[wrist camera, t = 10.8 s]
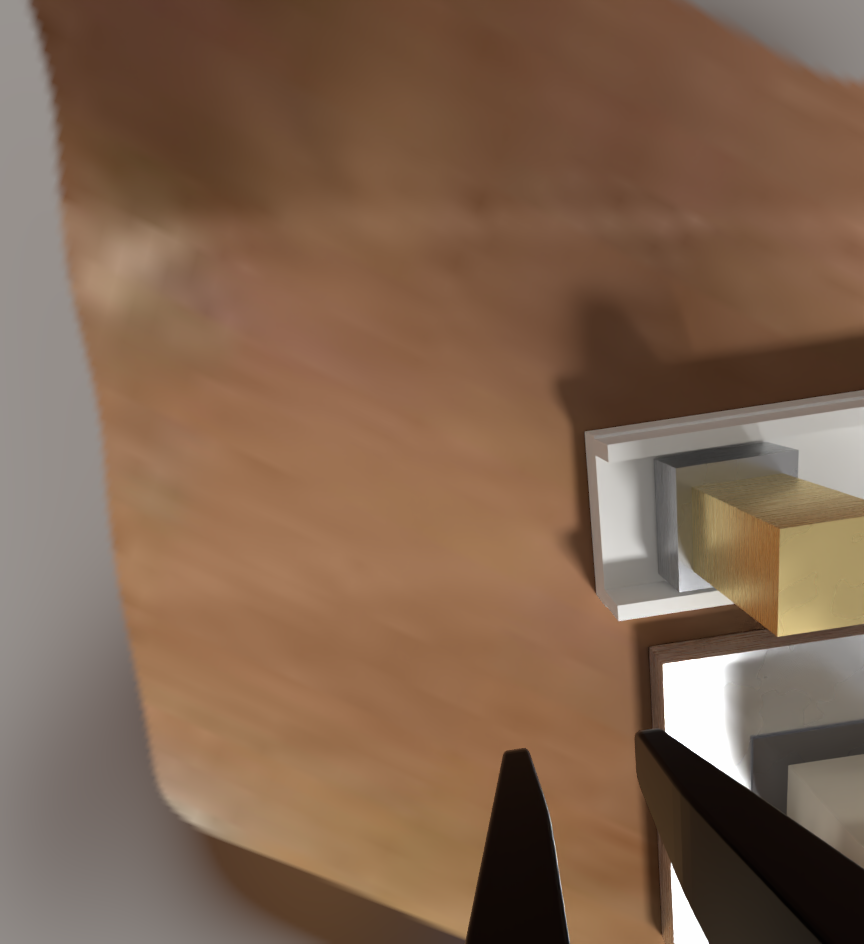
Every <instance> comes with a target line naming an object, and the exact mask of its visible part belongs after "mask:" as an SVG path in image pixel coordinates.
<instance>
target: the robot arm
mask: <svg viewBox="0 0 864 944" xmlns="http://www.w3.org/2000/svg"><path fill="white" fill-rule="evenodd" d="M635 756H636V772H637V778H638V781H639V785H640V788H641V790H642V793H643V795H644V798H645V800H646V803H647V805H648V807H649V810H650V812H651V815H652V817H653V820H654V822H655V825H656V827H657V830H658V832H659V835H660V837H661V840H662V842H663V844H664V847H665V849H666V852H667V854H668V857H669V859H670V862H671V864H672V867H673V869H674V872H675V874H676V876H677V879H678V881H679V884H680V886H681V888H682V891H683V893H684V895H685V897H686V899H687V901H688V903H689V905H690V907H691V909H692V911H693V913H694V915H695V917H696V919H697V921H698V923H699V925H700V927H701V929H702V931H703V933H704V935H705V937H706V939H707V941H708V943H709V944H864V868H862V867H861V866H860V865H858V864H857V863H855V862H854V861H852V860H851V859H849V858H848V857H846V856H845V855H844V854H842V853H841V852H839V851H838V850H836V849H835V848H833V847H832V846H831V845H829V844H828V843H826V842H825V841H823V840H822V839H820V838H819V837H818V836H816V835H815V834H813V833H812V832H810V831H809V830H807V829H806V828H804V827H803V826H802V825H800V824H799V823H797V822H796V821H794V820H793V819H791V818H790V817H789V816H787V815H786V814H784V813H783V812H781V811H780V810H778V809H777V808H775V807H774V806H773V805H771V804H770V803H768V802H767V801H765V800H764V799H762V798H761V797H760V796H758V795H757V794H755V793H754V792H752V791H751V790H749V789H748V788H747V787H745V786H744V785H742V784H741V783H739V782H738V781H736V780H735V779H733V778H732V777H731V776H729V775H728V774H726V773H725V772H723V771H722V770H720V769H719V768H718V767H716V766H715V765H713V764H712V763H710V762H709V761H707V760H706V759H704V758H703V757H702V756H700V755H699V754H697V753H696V752H694V751H693V750H691V749H690V748H689V747H687V746H686V745H684V744H683V743H681V742H680V741H678V740H677V739H676V738H674V737H673V736H671V735H670V734H668V733H667V732H665V731H664V730H662V729H659V728H654V729H647V730H641V731H638V732H637V733H636V734H635ZM465 944H570V941H569V935H568V928H567V921H566V915H565V908H564V902H563V895H562V889H561V882H560V875H559V869H558V862H557V856H556V849H555V843H554V836H553V829H552V823H551V818H550V813H549V810H548V806H547V803H546V800H545V797H544V794H543V791H542V788H541V785H540V782H539V779H538V776H537V773H536V770H535V767H534V764H533V761H532V758H531V755H530V753H529V751H528V750H527V749H526V748H521V749H514V750H508V751H505V752H504V754H503V758H502V763H501V768H500V773H499V778H498V783H497V788H496V793H495V798H494V803H493V808H492V813H491V818H490V822H489V827H488V832H487V837H486V842H485V847H484V852H483V857H482V862H481V867H480V872H479V877H478V882H477V887H476V892H475V897H474V902H473V907H472V912H471V917H470V922H469V927H468V932H467V937H466V942H465Z"/></svg>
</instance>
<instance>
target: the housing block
mask: <svg viewBox="0 0 864 944" xmlns="http://www.w3.org/2000/svg"><path fill="white" fill-rule="evenodd" d="M787 816H789V817H790V818H791V819H793V820H794V821H796V822H797V823H799V824H800V825H802V826H803V827H804V828H806V829H807V830H809V831H810V832H812V833H813V834H815V835H816V836H818V837H819V838H820V839H822V840H823V841H825V842H826V843H828V844H829V845H831V846H832V847H833V848H835V849H836V850H838V851H839V852H841V853H842V854H844V855H845V856H846V857H848V858H849V859H851V860H852V861H854V862H855V863H857V864H858V865H860V866H861V867H862V868H864V754H861V755H854V756H847V757H840V758H834V759H827V760H820V761H813V762H807V763H800V764H793V765H788V790H787Z"/></svg>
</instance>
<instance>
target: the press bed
mask: <svg viewBox="0 0 864 944" xmlns="http://www.w3.org/2000/svg"><path fill="white" fill-rule="evenodd" d="M649 661H650V682H651V704H652V725H653V729H654V728H659V729H662V730H664V731H665V732H667V733H668V734H670V735H671V736H673V737H674V738H676V739H677V740H678V741H680V742H681V743H683V744H684V745H686V746H687V747H689V748H690V749H691V750H693V751H694V752H696V753H697V754H699V755H700V756H702V757H703V758H704V759H706V760H707V761H709V762H710V763H712V764H713V765H715V766H716V767H718V768H719V769H720V770H722V771H723V772H725V773H726V774H728V775H729V776H731V777H732V778H733V779H735V780H736V781H738V782H739V783H741V784H742V785H744V786H745V787H747V788H748V789H749V790H751V791H752V792H754V793H755V794H757V795H758V796H760V797H761V798H762V799H764V800H765V801H767V802H768V803H770V804H771V805H773V806H774V807H775V808H777V809H778V810H780V811H781V812H783V813H784V814H786V815H787V790H788V765H793V764H800V763H807V762H813V761H820V760H827V759H834V758H840V757H847V756H854V755H861V754H864V624H859V625H853V626H846V627H840V628H833V629H826V630H820V631H813V632H806V633H800V634H793V635H786V636H780V637H777V636H776V635H775V634H773V633H772V632H771V631H769V630H768V629H764V630H757V631H750V632H744V633H737V634H730V635H724V636H717V637H710V638H704V639H697V640H690V641H684V642H677V643H670V644H664V645H657V646H651V647H649ZM657 833H658V854H659V876H660V897H661V919H662V937H663V940H664V942H665V944H709V943H708V941H707V939H706V937H705V935H704V933H703V931H702V929H701V927H700V925H699V923H698V921H697V919H696V917H695V915H694V913H693V911H692V909H691V907H690V905H689V903H688V901H687V899H686V897H685V895H684V893H683V891H682V888H681V886H680V884H679V881H678V879H677V876H676V874H675V872H674V869H673V867H672V864H671V862H670V859H669V857H668V854H667V852H666V849H665V847H664V844H663V842H662V840H661V837H660V835H659V832H658V830H657Z"/></svg>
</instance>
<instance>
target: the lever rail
mask: <svg viewBox="0 0 864 944" xmlns="http://www.w3.org/2000/svg"><path fill="white" fill-rule="evenodd" d="M762 442H769V443H773V444H777V445H781V446H785V447H789V448H793V449H797V450H799V457H798V478H799V479H802V480H806V481H809V482H812V483H815V484H818V485H821V486H824V487H827V488H830V489H833V490H837V491H840V492H843V493H846V494H849V495H852V496H855V497H858V498H861V499H864V390H860V391H853V392H847V393H840V394H833V395H827V396H820V397H813V398H806V399H800V400H793V401H786V402H780V403H773V404H766V405H759V406H753V407H746V408H739V409H733V410H726V411H719V412H712V413H706V414H699V415H692V416H686V417H679V418H672V419H665V420H659V421H652V422H645V423H639V424H632V425H625V426H618V427H612V428H605V429H598V430H592V431H585V445H586V459H587V472H588V486H589V500H590V514H591V528H592V541H593V555H594V569H595V583H596V595H597V596H598V597H599V599H600V600H601V601H602V603H603V604H604V605H605V606H606V607H608V608H609V609H610V611H611V612H612V613H613V615H614V616H615V617H616V619H617V620H618V621H622V620H629V619H636V618H642V617H649V616H656V615H662V614H669V613H676V612H682V611H689V610H696V609H702V608H709V607H716V606H722V605H729V604H735V603H733V602H732V601H731V600H729V599H728V598H727V597H726V596H724V595H723V594H722V593H720V592H719V591H718V590H717V589H715V588H714V587H712V588H705V589H699V590H692V591H685V592H678V591H677V590H676V589H675V588H674V587H673V586H672V585H671V584H669V583H668V582H667V581H666V580H665V579H664V578H663V577H662V576H660V575H659V574H658V553H657V528H656V503H655V478H654V459H655V458H662V457H669V456H675V455H682V454H689V453H695V452H702V451H709V450H716V449H722V448H729V447H736V446H742V445H749V444H756V443H762Z"/></svg>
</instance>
